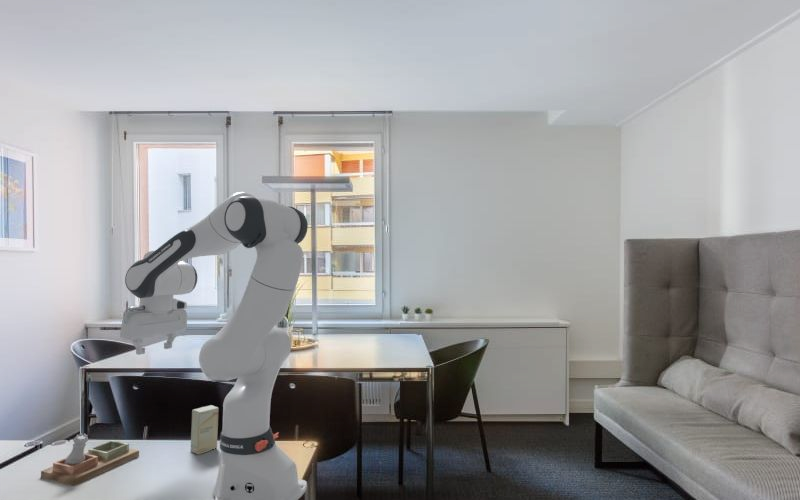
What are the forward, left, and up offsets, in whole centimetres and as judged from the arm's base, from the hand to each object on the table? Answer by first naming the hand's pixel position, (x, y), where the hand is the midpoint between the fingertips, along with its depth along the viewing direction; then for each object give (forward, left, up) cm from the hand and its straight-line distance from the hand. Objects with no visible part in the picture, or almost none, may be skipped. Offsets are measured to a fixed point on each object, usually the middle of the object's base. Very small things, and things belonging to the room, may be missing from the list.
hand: (154, 351), depth 128 cm
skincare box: (-14, -6, -29) cm, 33 cm away
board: (+6, +13, -29) cm, 32 cm away
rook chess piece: (+7, +17, -27) cm, 33 cm away
